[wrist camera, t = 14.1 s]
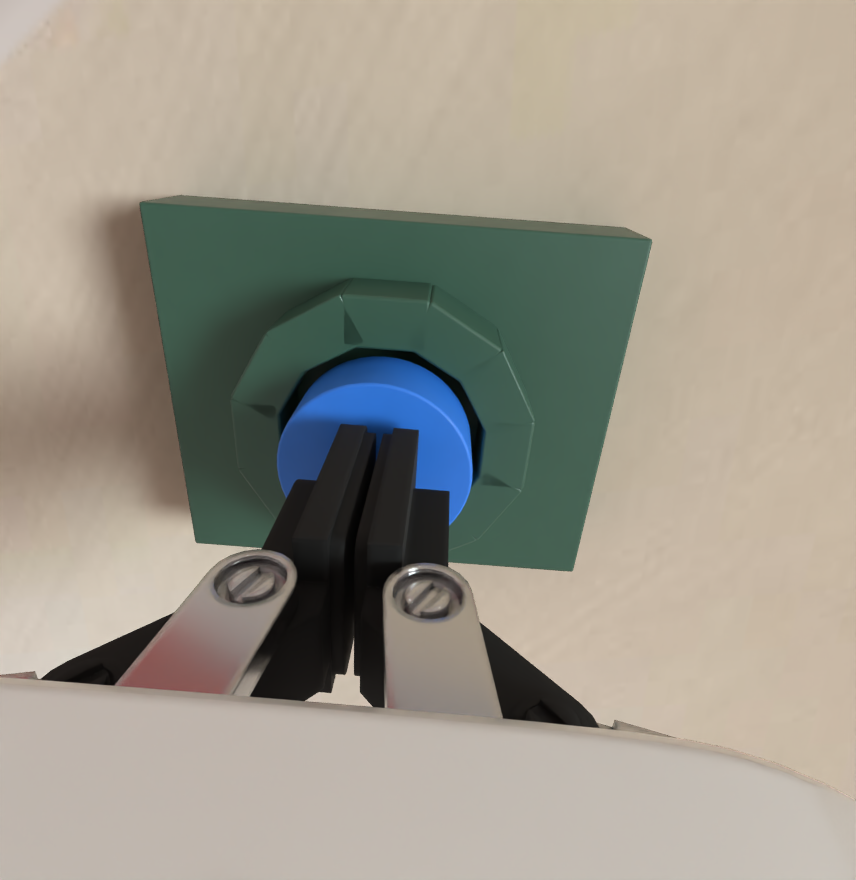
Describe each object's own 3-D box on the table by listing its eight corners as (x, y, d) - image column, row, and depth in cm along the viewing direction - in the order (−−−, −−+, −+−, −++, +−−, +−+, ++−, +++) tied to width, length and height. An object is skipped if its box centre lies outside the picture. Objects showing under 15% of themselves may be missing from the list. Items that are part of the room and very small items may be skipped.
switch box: (220, 504, 19) (169, 583, 16) (179, 195, 15) (93, 208, 11) (561, 530, 19) (585, 615, 16) (627, 227, 15) (682, 251, 11)
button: (299, 504, 15) (281, 545, 13) (291, 348, 13) (269, 375, 11) (461, 517, 15) (463, 559, 13) (479, 362, 13) (483, 391, 11)
